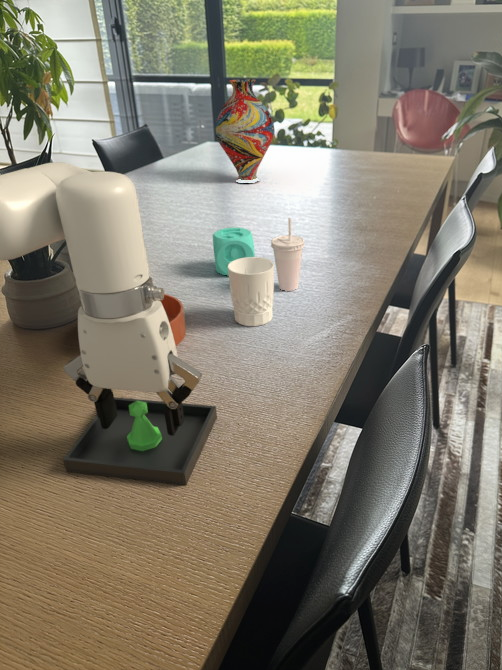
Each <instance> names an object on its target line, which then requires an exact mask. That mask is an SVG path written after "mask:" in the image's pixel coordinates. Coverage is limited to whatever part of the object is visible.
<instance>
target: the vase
mask: <svg viewBox="0 0 502 670" xmlns="http://www.w3.org/2000/svg"><path fill="white" fill-rule="evenodd" d="M255 82H256V79H251V78H240V79H238V78H237V79H231V80H229V83H230V84H231V86H232V94H231V96H230V97H229V98H228V100H227V101H226V102H225V103H224V105H223V106H222V107H221V109H220V110H219V114H218V116H217V119H216V122H215V138H216V140H217V142H218V143H219V145H220V146H221V148H222V150H223V152H224V153H225V154H226V156H227V157H228V160H230V162H231V163H232V165H233V167H234V168H235V170H236V173H237V175H238V177H237V179H241V180H253V179H256V178H258V176H257V173H258V171H259V170H258V169H259V167H260V165H261V163H262V162H263V160H264V157H265V155H266V153H267V152H268V149H269V148H270V146H271V144H272V142H273V139H274V137H275V124H274V121H273V118H272V116H271V113H270V112H269V109H268V108H267V107H266V105H265V104H264V103H263V102H262V101H261V100H260V99H259V98H258V97H257V96H256V95H255V93H254V90H253V87H254V84H255Z"/></svg>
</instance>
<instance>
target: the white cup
mask: <svg viewBox="0 0 502 670" xmlns="http://www.w3.org/2000/svg"><path fill="white" fill-rule="evenodd" d="M228 274H229V276H228V281H229V290H230V297H231V303H232V307H233V313H234V320H235V322H236V323H238V324H239V325H242V326H245V327H258V326H263V325H266V324H268V323H270V322H271V320H272V319H273V305H274V291H275V262H273V261H272V260H271V259H268V258H265V257H259V256H255V257H246V258H240V259H237V260H234V261H232V262H230V263H229V264H228Z"/></svg>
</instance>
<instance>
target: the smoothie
mask: <svg viewBox="0 0 502 670" xmlns="http://www.w3.org/2000/svg"><path fill="white" fill-rule="evenodd" d="M292 226H293V225H292V217H288V235H279V236H276V237H273V238H272V239H271V241H270V243H271V244H270V247H271V248H272V250H273V251H272V252H273V258H274V265H275V269H276V277H277V283H278V289H279V288H280V289H281V290H280V289H279V290H280V291H282V290H285V291H284V292H287V291H290V292H293V291H292V290H295V289H297V288H299V280H300V273H301V264H302V256H303V248H304V247H305V239H304V238H303V237H300V236H299V235H293V234H292V231H293V229H292ZM297 290H298V289H297ZM295 291H296V290H295Z"/></svg>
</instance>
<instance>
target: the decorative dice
mask: <svg viewBox="0 0 502 670" xmlns="http://www.w3.org/2000/svg"><path fill="white" fill-rule="evenodd" d="M212 245H213V256H214V264H215V270H216V273H218V274H219V273H220V274H219V275H221V274H222V275H221V276H224V275H227V276H226V277H229V274H228V264H229V263H230V262H232V261H234V260H237V259H240V258H246V257H256V253H255V242H254V237H253V233H252V231H250V229H248V228H244V227H225V228H221V229H218V230H216V231H215V232H214V233H213V234H212Z"/></svg>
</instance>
